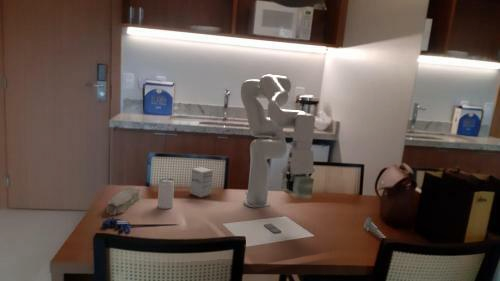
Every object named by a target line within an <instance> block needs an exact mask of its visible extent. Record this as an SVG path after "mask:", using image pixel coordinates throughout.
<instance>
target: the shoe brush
mask: <svg viewBox="0 0 500 281" xmlns="http://www.w3.org/2000/svg"><path fill="white" fill-rule="evenodd" d="M139 199H140V189H139V188H138V187H134V186H133V187H132V186H131V187H129V186H128V187H126V188H123V189H122V190H120V191H119V192H117V193H116V194H115V195H113V196H112V197H111V198H110V199H109V200H108V201H107V203H106V204H107V209H106V211H105V212H106V213H107V214H108V215H111V216H115V215H116V214H122V213H124V212H125V211H126V210H128V209H127V208H129V207H130V206H133V205H134V203H136V202H137V201H138V200H139Z"/></svg>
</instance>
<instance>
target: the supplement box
mask: <svg viewBox="0 0 500 281" xmlns="http://www.w3.org/2000/svg"><path fill="white" fill-rule="evenodd" d="M213 171H214V170H212V169H210V168H206V167H203V166H201V167H199V166H198V167H195V168H194V167H193V168H192V169H191V179H190V191H189V193H190V194H191V195H194V196H196V197H199V198H203V197H207V196H210V195H211V194H212V193H211V192H212V182H213V173H214V172H213Z"/></svg>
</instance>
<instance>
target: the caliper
mask: <svg viewBox="0 0 500 281" xmlns="http://www.w3.org/2000/svg"><path fill="white" fill-rule="evenodd" d="M363 230H366V232H370V230H371V232H372V233H373V234H376V235H377V236H378V237H379V238H380V239H381V238H387V237H386V236H385V235H384V234H383V233H382V232H381V231H380V230H379V229H378V226H376V225H375V223H374V222H373V221H372V218H371V217H370V216H368V217H367V218H365V221H364V226H363Z"/></svg>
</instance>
